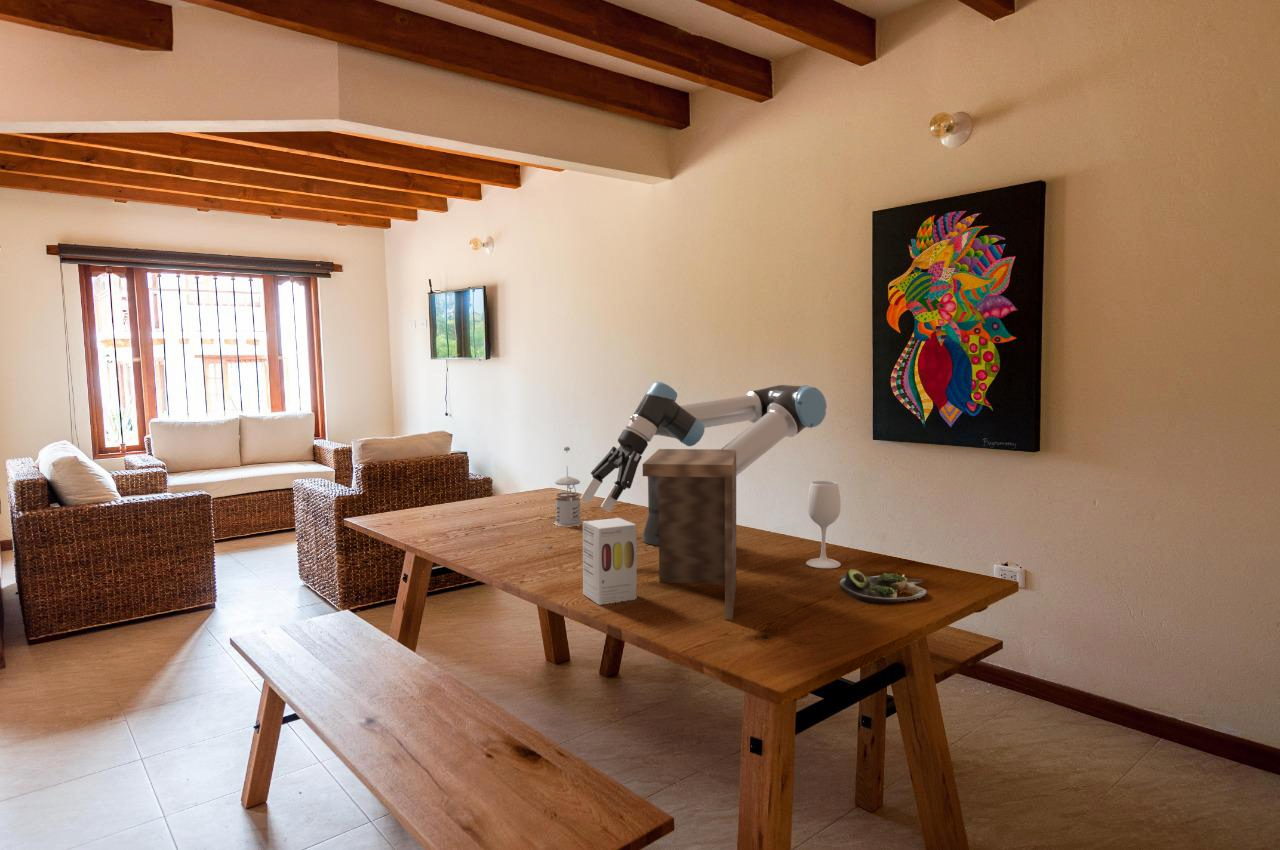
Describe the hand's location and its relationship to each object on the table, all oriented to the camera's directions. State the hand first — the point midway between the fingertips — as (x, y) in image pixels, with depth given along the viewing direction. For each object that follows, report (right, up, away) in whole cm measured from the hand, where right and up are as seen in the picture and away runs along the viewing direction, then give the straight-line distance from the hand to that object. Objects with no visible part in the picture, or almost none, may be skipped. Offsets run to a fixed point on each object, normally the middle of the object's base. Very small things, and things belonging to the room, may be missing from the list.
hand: (594, 505), depth 200 cm
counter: (+23, -18, -29) cm, 41 cm away
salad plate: (+65, -17, -25) cm, 72 cm away
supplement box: (+5, -18, -27) cm, 33 cm away
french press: (-11, -11, +51) cm, 53 cm away
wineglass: (+58, -15, -2) cm, 60 cm away
